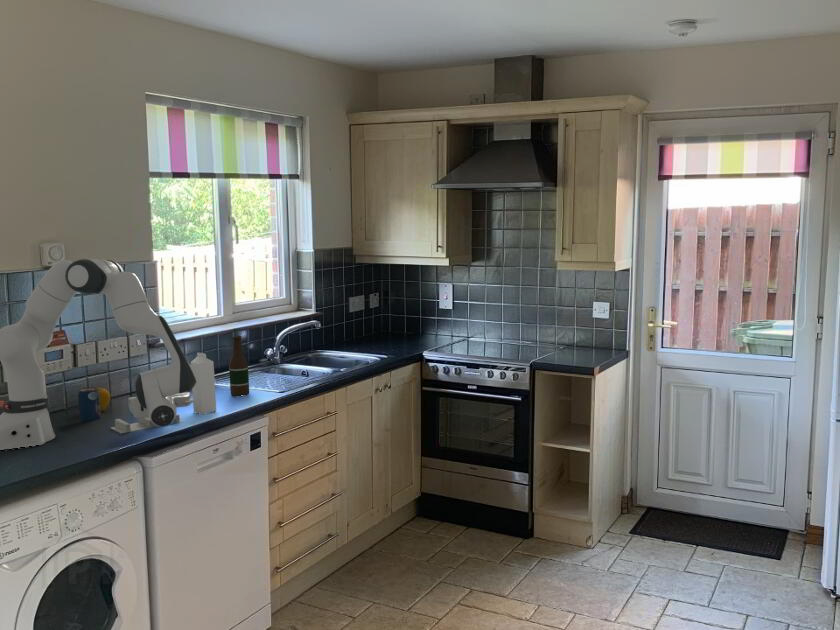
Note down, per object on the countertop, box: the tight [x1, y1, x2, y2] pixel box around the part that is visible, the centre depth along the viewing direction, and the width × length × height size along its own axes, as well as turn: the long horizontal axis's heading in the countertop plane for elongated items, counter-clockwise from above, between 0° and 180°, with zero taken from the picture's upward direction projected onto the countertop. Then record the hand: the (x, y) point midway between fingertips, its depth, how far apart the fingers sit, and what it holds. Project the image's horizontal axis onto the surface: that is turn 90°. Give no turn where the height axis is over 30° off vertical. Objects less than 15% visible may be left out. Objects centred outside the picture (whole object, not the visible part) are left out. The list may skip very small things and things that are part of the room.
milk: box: [190, 352, 217, 415], centre depth 293 cm, size 6×6×22 cm
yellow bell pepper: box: [96, 387, 111, 413], centre depth 300 cm, size 8×8×9 cm
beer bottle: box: [228, 334, 250, 397], centre depth 320 cm, size 8×8×24 cm
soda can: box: [77, 387, 102, 423], centre depth 283 cm, size 7×7×12 cm
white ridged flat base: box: [110, 413, 184, 434], centre depth 272 cm, size 22×12×4 cm, turn 130°
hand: (159, 396), depth 275 cm, fingers open, 8 cm apart
